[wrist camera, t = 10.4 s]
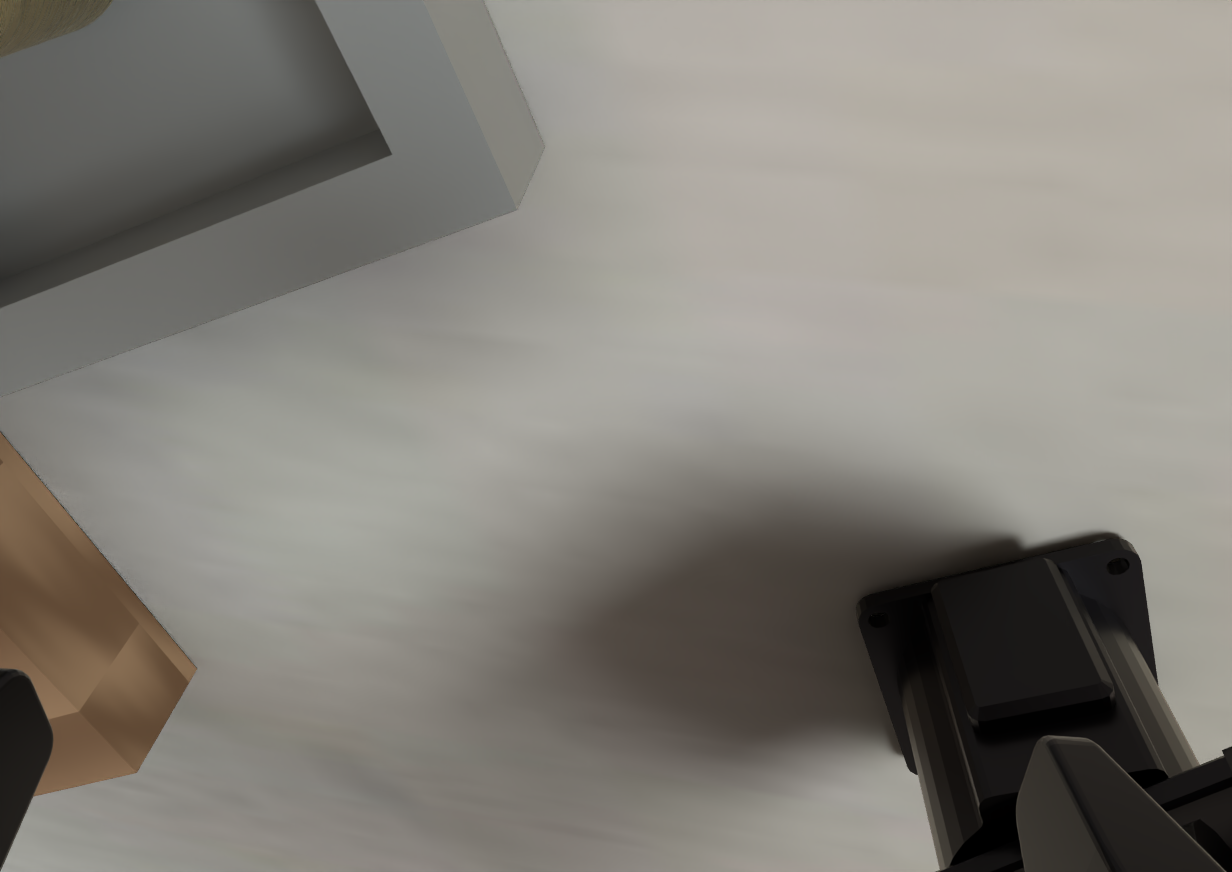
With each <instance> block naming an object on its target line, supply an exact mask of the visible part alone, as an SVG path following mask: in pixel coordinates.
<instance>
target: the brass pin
mask: <svg viewBox="0 0 1232 872" xmlns="http://www.w3.org/2000/svg"><path fill="white" fill-rule="evenodd" d="M112 1H113V0H0V58H1V57H4V56H7V55H10V54H13V53H15V52H18V51H21V50H24V49H27V48H29V47H32V46H35V45H38V44H41V43H43V42H46V41H49V40H52V39H54V38H57V37H60V36H63V35H66V34H68V33H71V32H74V31H77V30H79V29H82V28H84V27H85V26H87V25H89V24H91V23H92V22H94V21H95V20H96V19H97V18H98V17H100V16H101V15H102V14H103V13H104V11H105V10H106V9H107V8H108V7H109V5H110V4H111V2H112Z"/></svg>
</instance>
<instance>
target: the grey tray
mask: <svg viewBox="0 0 1232 872" xmlns="http://www.w3.org/2000/svg"><path fill="white" fill-rule="evenodd" d="M544 149H545V145H544V143H543V141H542V138H541V136H540V134H539V131H538V129H537V126H536V124H535V122H534V119H533V117H532V115H531V112H530V110H529V107H528V105H527V103H526V100H525V98H524V96H523V93H522V91H521V88H520V86H519V84H518V81H517V79H516V77H515V74H514V72H513V69H512V67H511V65H510V62H509V60H508V58H507V55H506V53H505V50H504V48H503V46H502V43H501V41H500V39H499V36H498V34H497V31H496V29H495V27H494V24H493V22H492V20H491V17H490V15H489V12H488V10H487V8H486V5H485V3H484V1H483V0H113V1H112V2H111V4H110V5H109V7H108V8H107V9H106V10H105V11H104V13H103V14H102V15H101V16H100V17H98V18H97V19H96V20H95V21H94V22H92V23H91V24H89V25H87V26H85V27H84V28H82V29H79V30H77V31H74V32H71V33H68V34H66V35H63V36H60V37H57V38H54V39H52V40H49V41H46V42H43V43H41V44H38V45H35V46H32V47H29V48H27V49H24V50H21V51H18V52H15V53H13V54H10V55H7V56H4V57H1V58H0V397H3V396H5V395H8V394H11V393H14V392H16V391H19V390H22V389H25V388H27V387H30V386H33V385H36V384H38V383H41V382H44V381H47V380H49V379H52V378H55V377H58V376H60V375H63V374H66V373H69V372H71V371H74V370H77V369H80V368H83V367H85V366H88V365H91V364H94V363H96V362H99V361H102V360H105V359H107V358H110V357H113V356H116V355H118V354H121V353H124V352H127V351H129V350H132V349H135V348H138V347H140V346H143V345H146V344H149V343H151V342H154V341H157V340H160V339H163V338H165V337H168V336H171V335H174V334H176V333H179V332H182V331H185V330H187V329H190V328H193V327H196V326H198V325H201V324H204V323H207V322H209V321H212V320H215V319H218V318H220V317H223V316H226V315H229V314H231V313H234V312H237V311H240V310H243V309H245V308H248V307H251V306H254V305H256V304H259V303H262V302H265V301H267V300H270V299H273V298H276V297H278V296H281V295H284V294H287V293H289V292H292V291H295V290H298V289H300V288H303V287H306V286H309V285H311V284H314V283H317V282H320V281H323V280H325V279H328V278H331V277H334V276H336V275H339V274H342V273H345V272H347V271H350V270H353V269H356V268H358V267H361V266H364V265H367V264H369V263H372V262H375V261H378V260H380V259H383V258H386V257H389V256H391V255H394V254H397V253H400V252H403V251H405V250H408V249H411V248H414V247H416V246H419V245H422V244H425V243H427V242H430V241H433V240H436V239H438V238H441V237H444V236H447V235H449V234H452V233H455V232H458V231H460V230H463V229H466V228H469V227H471V226H474V225H477V224H480V223H483V222H485V221H488V220H491V219H494V218H496V217H499V216H502V215H505V214H507V213H510V212H513V211H516V210H517V209H518V207H519V205H520V203H521V200H522V198H523V196H524V194H525V191H526V189H527V187H528V185H529V182H530V180H531V178H532V176H533V173H534V171H535V169H536V167H537V164H538V162H539V160H540V158H541V155H542V153H543V151H544Z"/></svg>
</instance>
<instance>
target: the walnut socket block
mask: <svg viewBox="0 0 1232 872" xmlns="http://www.w3.org/2000/svg"><path fill="white" fill-rule="evenodd" d="M0 668H9V669H18V670H22V671H23V672H24V673H26V674H27V675H28V676H29V677H30V679H31V681H32V683H33V685H34V687H35V690H36V692H37V694H38V697H39V699H40V701H41V703H42V706H43V708H44V710H45V713H46V715H47V717H48V720H49V722H50V724H51V727H52V730H53V748H52V752H51V756H50V759H49V761H48V764H47V766H46V768H45V771H44V773H43V775H42V777H41V780H40V782H39V784H38V787H37V789H36V791H35V793H34V796H37V795H42V794H46V793H51V792H55V791H59V790H64V789H68V788H72V787H77V786H81V785H85V784H90V783H94V782H99V781H103V780H107V779H112V778H116V777H120V776H125V775H129V774H134V773H137V772H138V770H139V768H140V766H141V765H142V763H143V761H144V759H145V758H146V756H147V754H148V753H149V751H150V749H151V747H152V746H153V744H154V742H155V740H156V739H157V737H158V735H159V734H160V732H161V730H162V728H163V727H164V725H165V723H166V722H167V720H168V718H169V716H170V715H171V713H172V711H173V709H174V708H175V706H176V704H177V703H178V701H179V699H180V697H181V696H182V694H183V692H184V690H185V689H186V687H187V685H188V684H189V682H190V680H191V678H192V677H193V675H194V673H195V672H196V670H197V668H196V667H195V666H194V665H193V664H192V662H191V661H190V660H189V659H188V658H187V656H186V655H185V654H184V653H183V652H182V650H181V649H180V648H179V647H178V646H177V644H176V643H175V642H174V641H173V640H172V638H171V637H170V636H169V635H168V634H167V632H166V631H165V630H164V629H163V628H162V626H161V625H160V624H159V623H158V622H157V620H156V619H155V618H154V617H153V615H152V614H151V613H150V612H149V611H148V609H147V608H146V607H145V606H144V605H143V603H142V602H141V601H140V600H139V599H138V597H137V596H136V595H135V594H134V593H133V591H132V590H131V589H130V588H129V587H128V585H127V584H126V583H125V582H124V581H123V579H122V578H121V577H120V576H119V575H118V573H117V572H116V571H115V570H114V569H113V567H112V566H111V565H110V564H109V562H108V561H107V560H106V559H105V558H104V556H103V555H102V554H101V553H100V552H99V550H98V549H97V548H96V547H95V546H94V544H93V543H92V542H91V541H90V540H89V538H88V537H87V536H86V535H85V534H84V532H83V531H82V530H81V529H80V528H79V526H78V525H77V524H76V523H75V522H74V520H73V519H72V518H71V517H70V516H69V514H68V513H67V512H66V511H65V510H64V508H63V507H62V506H61V505H60V503H59V502H58V501H57V500H56V499H55V497H54V496H53V495H52V494H51V493H50V491H49V490H48V489H47V488H46V487H45V485H44V484H43V483H42V482H41V481H40V479H39V478H38V477H37V476H36V475H35V473H34V472H33V471H32V470H31V469H30V467H29V466H28V465H27V464H26V463H25V461H24V460H23V459H22V458H21V457H20V455H19V454H18V453H17V452H16V450H15V449H14V448H13V447H12V446H11V444H10V443H9V442H8V441H7V440H6V438H5V437H4V436H3V435H2V434H1V432H0Z"/></svg>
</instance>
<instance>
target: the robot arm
mask: <svg viewBox="0 0 1232 872" xmlns="http://www.w3.org/2000/svg"><path fill="white" fill-rule="evenodd" d="M1116 558H1121V559H1120V560H1119V561H1118V562H1115V563H1113V564H1108V563H1109V562H1110V561H1111V560H1113V559H1116ZM877 612H883V613H884V614H883V615H881V616H871V615H872V614H874V613H877ZM856 613H857V618H858V623H859V627H860V630H861V633H862V636H863V638H864V641H865V644H866V647H867V650H868V653H869V656H870V659H871V662H872V665H873V668H874V671H875V674H876V676H877V679H878V682H879V685H880V688H881V691H882V694H883V697H884V700H885V703H886V706H887V709H888V712H889V714H890V717H891V720H892V723H893V726H894V729H895V732H896V735H897V738H898V741H899V744H900V747H901V749H902V752H903V755H904V758H905V761H906V764H907V767H908V769H909V770H910V771H911V772H912V773H914V774H916V775H918V777H919V781H920V785H921V790H922V794H923V798H924V803H925V807H926V811H927V816H928V820H929V824H930V829H931V833H932V837H933V842H934V846H935V850H936V855H937V859H938V863H939V868H940V870H939V871H936V872H1232V747H1229V748H1227V749H1224V750H1222V751H1223V754H1224V756H1221V757H1219V758H1216V759H1214V760H1211V761H1209V762H1206V763H1204V764H1201V765H1200V764H1199V762H1198V760H1197V759H1196V757H1195V755H1194V753H1193V751H1192V749H1191V747H1190V745H1189V743H1188V741H1187V740H1186V738H1185V736H1184V734H1183V732H1182V730H1181V728H1180V726H1179V724H1178V723H1177V721H1176V719H1175V717H1174V715H1173V713H1172V711H1171V709H1170V707H1169V706H1168V704H1167V702H1166V700H1165V698H1164V696H1163V694H1162V692H1161V690H1160V688H1159V687H1158V679H1157V672H1156V665H1155V658H1154V651H1153V643H1152V636H1151V629H1150V622H1149V615H1148V608H1147V600H1146V593H1145V586H1144V579H1143V572H1142V564H1141V560H1140V558H1139V556H1138V554H1137V552H1136V551H1135V549H1134V547H1133V545H1132V544H1131V543H1129V542H1128V541H1126V540H1123V539H1108V540H1104V541H1099V542H1095V543H1091V544H1086V545H1082V546H1078V547H1074V548H1069V549H1065V550H1061V551H1056V552H1052V553H1048V554H1043V555H1039V556H1035V557H1030V558H1026V559H1022V560H1017V561H1013V562H1009V563H1004V564H1000V565H996V566H991V567H987V568H983V569H978V570H974V571H970V572H966V573H961V574H957V575H953V576H948V577H944V578H940V579H935V580H931V581H927V582H922V583H918V584H914V585H909V586H905V587H901V588H896V589H892V590H888V591H883V592H879V593H875V594H871V595H869V596H866V597H864V598H863V599H862V600H860V601H859V603H858V605H857V607H856ZM52 748H53V730H52V727H51V724H50V722H49V720H48V717H47V715H46V713H45V710H44V708H43V706H42V703H41V701H40V699H39V697H38V694H37V692H36V690H35V687H34V685H33V683H32V681H31V679H30V677H29V676H28V675H27V674H26V673H24V672H23V671H22V670H18V669H9V668H0V871H1V869H2V867H3V864H4V862H5V860H6V857H7V855H8V853H9V851H10V848H11V846H12V844H13V841H14V839H15V837H16V835H17V832H18V830H19V828H20V825H21V823H22V821H23V819H24V816H25V814H26V812H27V809H28V807H29V805H30V803H31V800H32V798H33V796H34V793H35V791H36V789H37V787H38V784H39V782H40V780H41V777H42V775H43V773H44V771H45V768H46V766H47V764H48V761H49V759H50V756H51V752H52Z"/></svg>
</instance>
